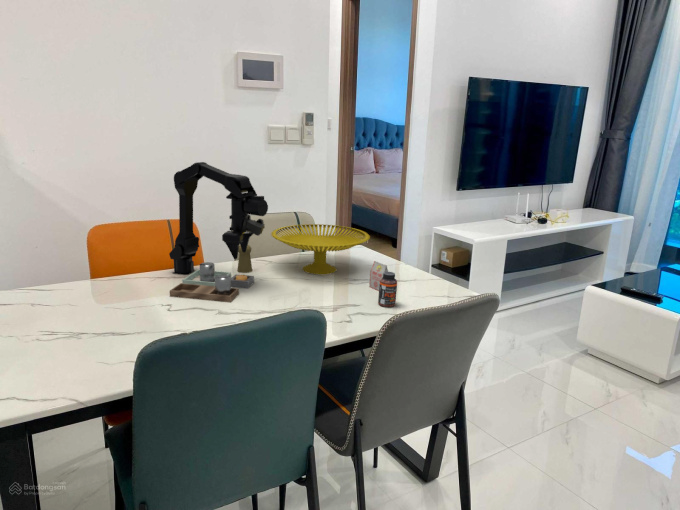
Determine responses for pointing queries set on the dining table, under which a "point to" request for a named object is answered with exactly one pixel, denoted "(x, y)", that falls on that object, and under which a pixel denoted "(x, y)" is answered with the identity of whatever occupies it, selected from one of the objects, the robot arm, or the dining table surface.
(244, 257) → the cork
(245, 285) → the button housing
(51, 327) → the dining table surface
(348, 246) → the yellow pedestal fruit bowl
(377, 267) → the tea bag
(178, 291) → the walnut pallet
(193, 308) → the dining table surface
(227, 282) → the seated steel billet
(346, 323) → the dining table surface
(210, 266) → the cylinder
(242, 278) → the button
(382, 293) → the supplement bottle
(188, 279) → the sage tote
